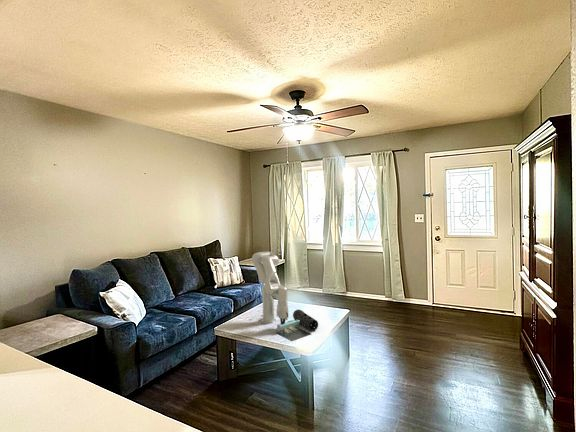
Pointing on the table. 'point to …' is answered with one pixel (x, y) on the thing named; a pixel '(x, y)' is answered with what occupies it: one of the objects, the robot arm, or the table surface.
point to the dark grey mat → (293, 333)
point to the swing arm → (287, 325)
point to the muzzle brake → (305, 320)
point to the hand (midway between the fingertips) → (282, 325)
